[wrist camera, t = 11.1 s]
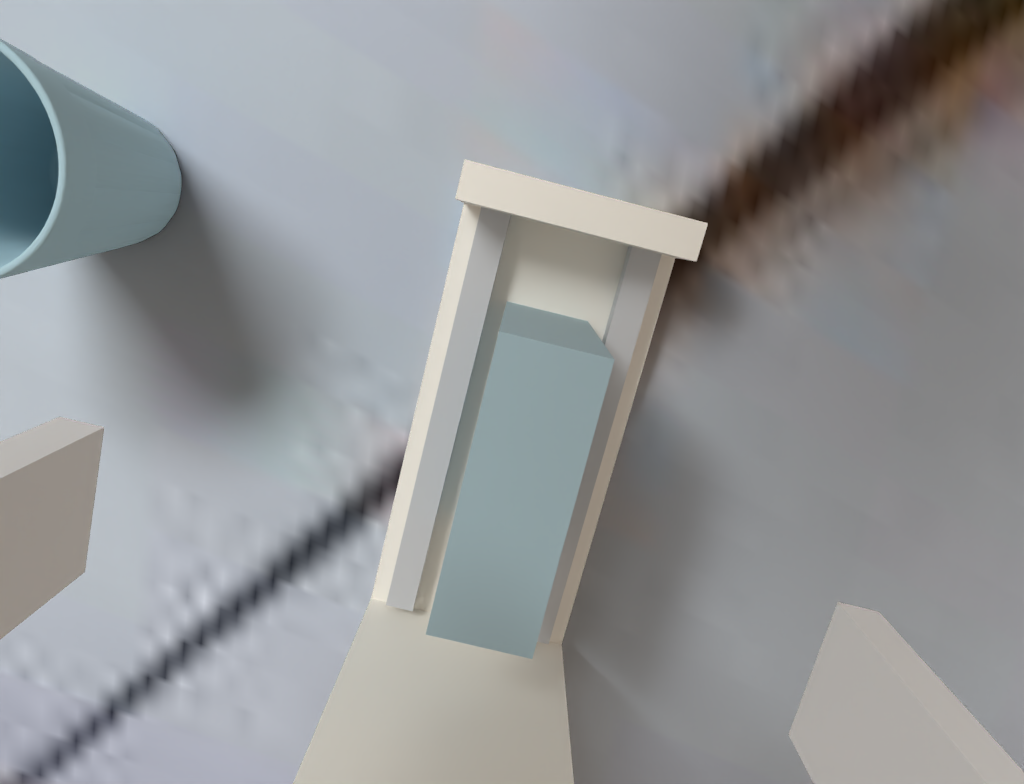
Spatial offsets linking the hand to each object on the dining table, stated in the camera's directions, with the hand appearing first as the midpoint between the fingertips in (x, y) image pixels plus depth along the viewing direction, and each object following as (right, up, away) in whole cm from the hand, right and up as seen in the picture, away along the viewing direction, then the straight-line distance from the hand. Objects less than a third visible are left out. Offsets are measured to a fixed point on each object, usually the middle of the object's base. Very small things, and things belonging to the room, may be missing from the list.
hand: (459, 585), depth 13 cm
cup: (-16, +12, +19) cm, 28 cm away
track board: (+1, +1, +21) cm, 21 cm away
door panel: (+1, +2, +20) cm, 20 cm away
